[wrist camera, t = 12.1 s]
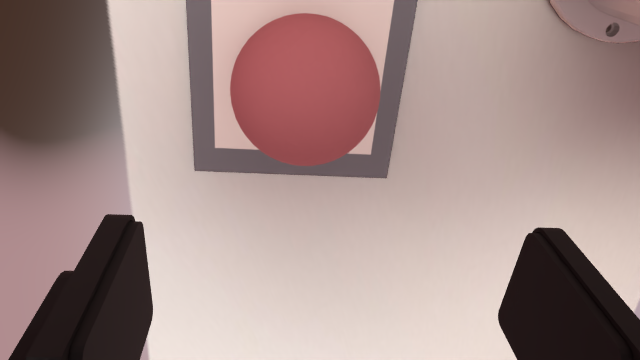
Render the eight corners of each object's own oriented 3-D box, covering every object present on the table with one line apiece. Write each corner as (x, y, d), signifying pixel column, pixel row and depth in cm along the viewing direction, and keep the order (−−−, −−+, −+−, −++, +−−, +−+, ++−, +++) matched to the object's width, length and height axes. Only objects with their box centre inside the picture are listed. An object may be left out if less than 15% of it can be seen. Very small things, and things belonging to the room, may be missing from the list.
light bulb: (246, -23, 28) (226, 23, 18) (365, -6, 29) (412, 46, 19) (239, 92, 32) (219, 187, 21) (345, 104, 33) (376, 200, 22)
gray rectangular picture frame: (179, -148, 26) (177, -149, 25) (436, -121, 27) (439, -122, 26) (195, 168, 35) (194, 172, 34) (385, 175, 36) (387, 179, 36)
